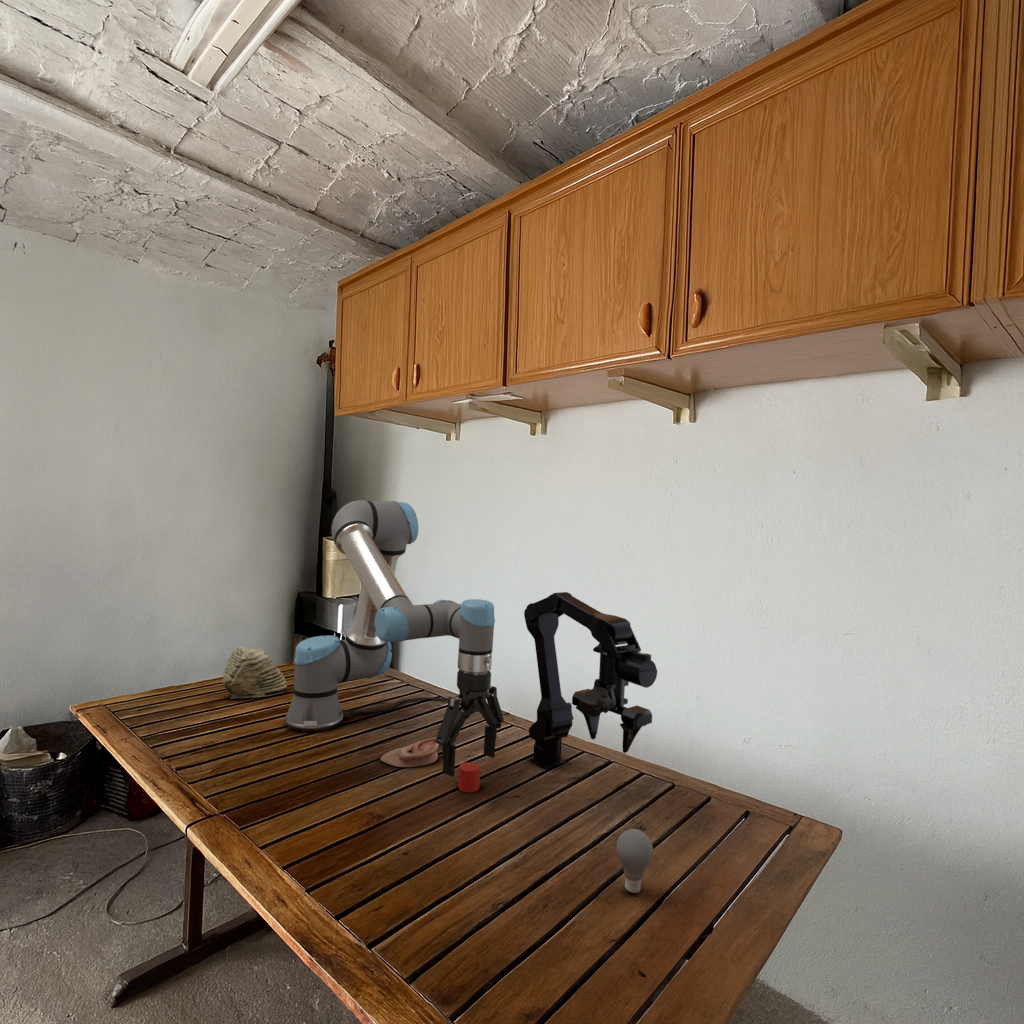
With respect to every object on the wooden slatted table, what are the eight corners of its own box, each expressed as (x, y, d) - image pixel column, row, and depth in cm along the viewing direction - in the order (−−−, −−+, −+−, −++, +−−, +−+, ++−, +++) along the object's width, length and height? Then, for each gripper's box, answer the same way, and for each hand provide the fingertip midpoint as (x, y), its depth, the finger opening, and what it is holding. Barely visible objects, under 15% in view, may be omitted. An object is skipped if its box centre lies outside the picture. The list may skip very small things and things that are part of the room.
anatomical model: (375, 747, 151) (394, 730, 162) (374, 764, 151) (393, 746, 162) (428, 754, 148) (443, 736, 159) (427, 771, 148) (443, 752, 159)
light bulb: (610, 879, 108) (613, 822, 108) (644, 879, 109) (647, 822, 109) (619, 902, 102) (622, 840, 102) (655, 901, 103) (658, 840, 103)
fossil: (218, 695, 195) (220, 647, 195) (278, 685, 208) (279, 640, 207) (228, 703, 189) (230, 653, 188) (289, 692, 201) (290, 645, 201)
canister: (470, 794, 138) (471, 772, 138) (453, 787, 141) (454, 766, 140) (483, 786, 142) (484, 765, 142) (467, 780, 144) (468, 760, 144)
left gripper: (447, 686, 128) (442, 788, 129) (521, 663, 148) (516, 753, 149) (421, 677, 133) (416, 777, 134) (497, 657, 153) (492, 744, 153)
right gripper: (556, 671, 142) (553, 740, 142) (621, 692, 128) (618, 769, 128) (590, 664, 149) (586, 729, 149) (655, 683, 135) (651, 756, 135)
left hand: (469, 764), depth 141 cm, fingers open, 13 cm apart
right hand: (608, 745), depth 140 cm, fingers open, 9 cm apart
